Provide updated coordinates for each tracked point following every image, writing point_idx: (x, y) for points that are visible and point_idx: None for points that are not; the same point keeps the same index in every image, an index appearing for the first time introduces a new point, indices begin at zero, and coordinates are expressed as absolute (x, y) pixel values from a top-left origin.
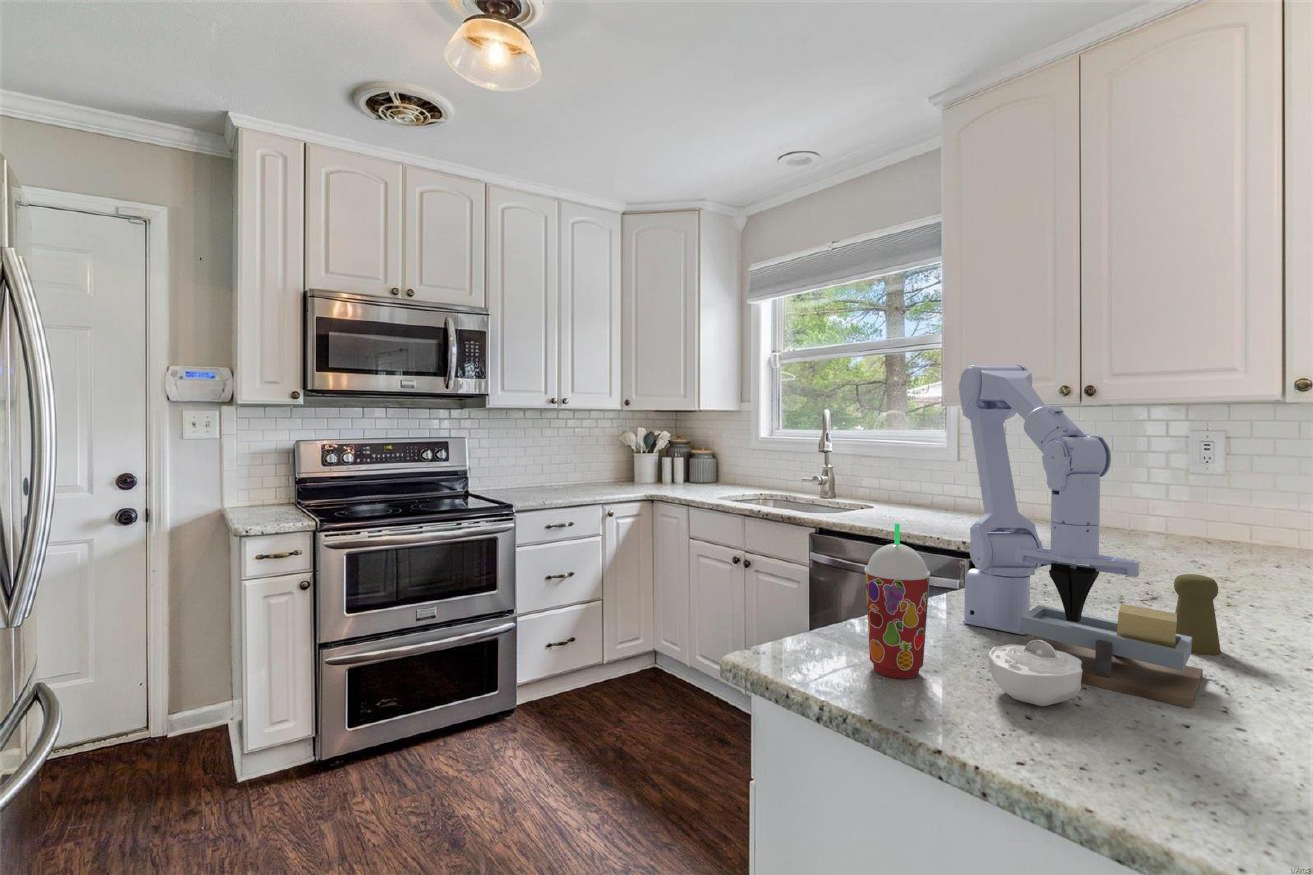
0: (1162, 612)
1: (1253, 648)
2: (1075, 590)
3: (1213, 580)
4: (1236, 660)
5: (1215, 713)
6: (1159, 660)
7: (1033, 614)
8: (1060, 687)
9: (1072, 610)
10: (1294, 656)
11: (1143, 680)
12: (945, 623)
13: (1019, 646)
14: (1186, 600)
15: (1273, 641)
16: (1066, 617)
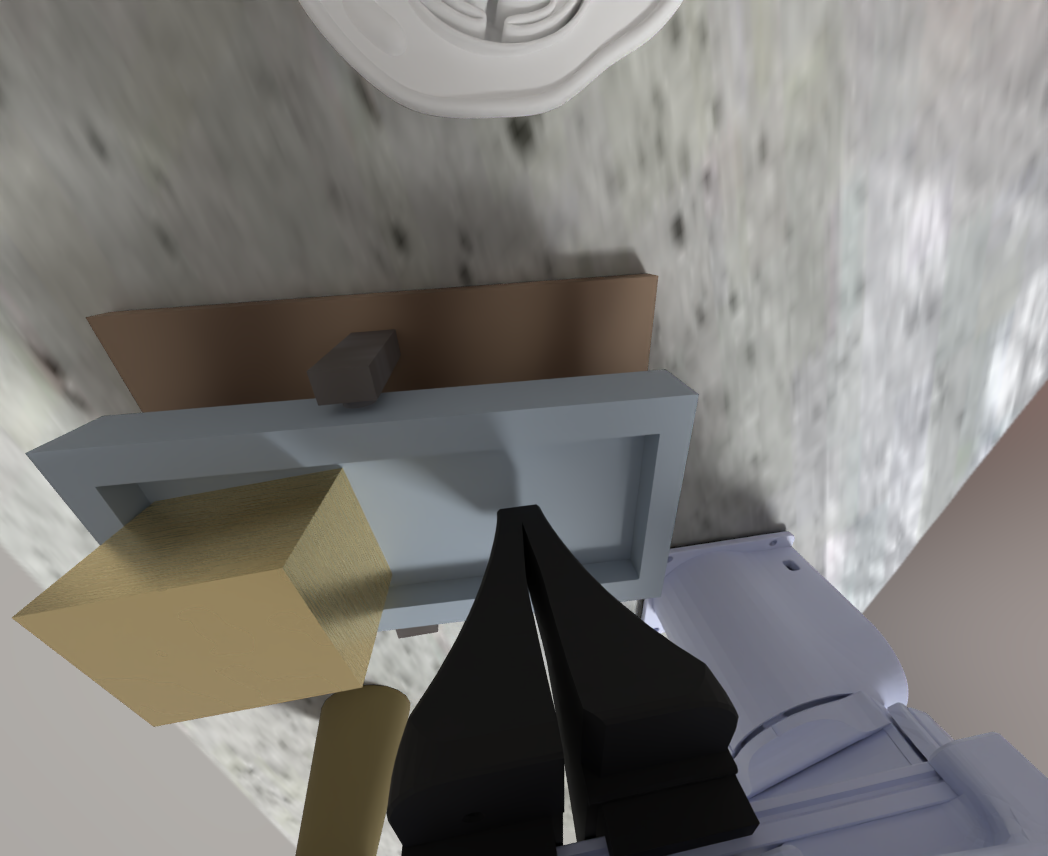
0: (186, 700)
1: (303, 765)
2: (515, 621)
3: None
4: (283, 702)
5: (48, 325)
6: (166, 418)
7: (658, 476)
8: None
9: (519, 535)
10: (240, 774)
11: (281, 396)
12: (827, 504)
13: (632, 20)
14: (343, 846)
15: (303, 804)
16: (539, 510)
